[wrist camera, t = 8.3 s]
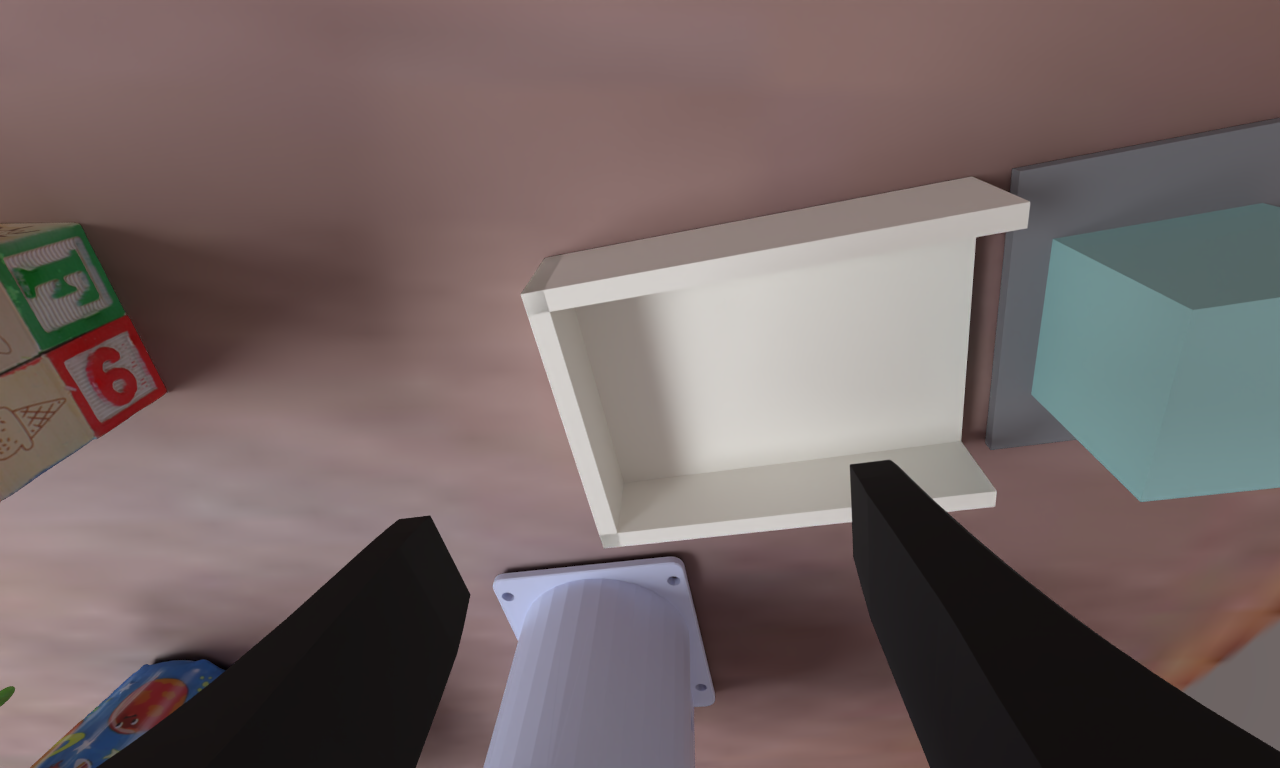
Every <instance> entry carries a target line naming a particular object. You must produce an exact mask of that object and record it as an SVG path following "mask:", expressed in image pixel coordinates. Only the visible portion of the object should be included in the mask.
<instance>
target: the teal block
mask: <svg viewBox="0 0 1280 768" xmlns="http://www.w3.org/2000/svg"><path fill="white" fill-rule="evenodd" d="M1031 395H1032V396H1033V397H1034V398H1035V399H1036V400H1037V401H1038V402H1039V403H1040V404H1041V405H1042V406H1043V407H1044V408H1045V409H1047V410H1048V411H1049V412H1050V413H1051V414H1052V415H1053V416H1054V417H1055V418H1056V419H1057V420H1058V421H1059V422H1060V423H1061V424H1062V425H1063V426H1064V427H1065V428H1066V429H1067V430H1068V431H1069V432H1070V433H1071V434H1072V435H1073V436H1074V437H1075V438H1076V439H1077V440H1078V441H1079V442H1080V443H1081V444H1082V445H1083V446H1084V447H1085V448H1086V449H1087V450H1088V451H1089V452H1090V453H1091V454H1092V455H1093V456H1094V457H1095V458H1096V459H1097V460H1098V461H1099V462H1100V463H1101V464H1102V465H1103V466H1104V467H1105V468H1106V469H1107V470H1109V471H1110V472H1111V473H1112V474H1113V475H1114V476H1115V477H1116V478H1117V479H1118V480H1119V481H1120V482H1121V483H1122V484H1123V485H1124V486H1125V487H1126V488H1127V489H1128V490H1129V491H1130V492H1131V493H1132V494H1133V495H1134V496H1135V497H1136V498H1137V499H1138V500H1139V501H1140V502H1145V501H1155V500H1164V499H1174V498H1183V497H1193V496H1203V495H1212V494H1222V493H1231V492H1241V491H1251V490H1260V489H1270V488H1279V487H1280V207H1276V206H1273V205H1269V204H1265V203H1260V204H1254V205H1248V206H1242V207H1237V208H1231V209H1225V210H1219V211H1213V212H1207V213H1202V214H1196V215H1190V216H1184V217H1178V218H1172V219H1166V220H1161V221H1155V222H1149V223H1143V224H1137V225H1131V226H1126V227H1120V228H1114V229H1108V230H1102V231H1096V232H1091V233H1085V234H1079V235H1073V236H1067V237H1061V238H1056V239H1053V241H1052V248H1051V255H1050V262H1049V270H1048V277H1047V284H1046V291H1045V298H1044V306H1043V313H1042V320H1041V327H1040V334H1039V342H1038V349H1037V356H1036V363H1035V370H1034V378H1033V385H1032V392H1031Z"/></svg>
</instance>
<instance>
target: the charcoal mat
mask: <svg viewBox="0 0 1280 768" xmlns="http://www.w3.org/2000/svg"><path fill="white" fill-rule="evenodd" d="M1010 193H1011V194H1014V195H1016V196H1018V197H1021V198H1023V199H1025V200H1028V201H1030V210H1029V218H1028V227H1027V228H1026V229H1020V230H1015V231H1009V232H1006V237H1005V248H1004V258H1003V268H1002V278H1001V288H1000V298H999V308H998V319H997V329H996V339H995V349H994V359H993V369H992V380H991V390H990V400H989V410H988V420H987V430H986V440H985V443H986V445H987V446H988V447H989V448H990V450H995V449H1003V448H1012V447H1020V446H1028V445H1036V444H1045V443H1053V442H1061V441H1069V440H1077V439H1076V438H1075V437H1074V436H1073V435H1072V434H1071V433H1070V432H1069V431H1068V430H1067V429H1066V428H1065V427H1064V426H1063V425H1062V424H1061V423H1060V422H1059V421H1058V420H1057V419H1056V418H1055V417H1054V416H1053V415H1052V414H1051V413H1050V412H1049V411H1048V410H1047V409H1045V408H1044V407H1043V406H1042V405H1041V404H1040V403H1039V402H1038V401H1037V400H1036V399H1035V398H1034V397H1033V396H1032V395H1031V392H1032V385H1033V378H1034V370H1035V363H1036V356H1037V349H1038V342H1039V334H1040V327H1041V320H1042V313H1043V306H1044V298H1045V291H1046V284H1047V277H1048V270H1049V262H1050V255H1051V248H1052V241H1053V239H1056V238H1061V237H1067V236H1073V235H1079V234H1085V233H1091V232H1096V231H1102V230H1108V229H1114V228H1120V227H1126V226H1131V225H1137V224H1143V223H1149V222H1155V221H1161V220H1166V219H1172V218H1178V217H1184V216H1190V215H1196V214H1202V213H1207V212H1213V211H1219V210H1225V209H1231V208H1237V207H1242V206H1248V205H1254V204H1260V203H1265V204H1269V205H1273V206H1276V207H1280V118H1276V119H1271V120H1265V121H1260V122H1255V123H1250V124H1244V125H1239V126H1234V127H1229V128H1223V129H1218V130H1213V131H1208V132H1202V133H1197V134H1192V135H1187V136H1181V137H1176V138H1171V139H1166V140H1160V141H1155V142H1150V143H1145V144H1139V145H1134V146H1129V147H1124V148H1118V149H1113V150H1108V151H1103V152H1097V153H1092V154H1087V155H1082V156H1076V157H1071V158H1066V159H1061V160H1055V161H1050V162H1045V163H1040V164H1034V165H1029V166H1024V167H1019V168H1013V169H1012V177H1011V187H1010Z"/></svg>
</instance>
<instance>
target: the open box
mask: <svg viewBox="0 0 1280 768" xmlns="http://www.w3.org/2000/svg"><path fill="white" fill-rule="evenodd" d="M1029 210H1030V201H1028V200H1025V199H1023V198H1021V197H1018V196H1016V195H1014V194H1011V193H1009V192H1007V191H1004V190H1002V189H1000V188H998V187H995V186H993V185H991V184H988V183H986V182H984V181H981V180H979V179H977V178H974V177H966V178H961V179H956V180H951V181H945V182H940V183H935V184H930V185H924V186H919V187H914V188H909V189H903V190H898V191H893V192H888V193H882V194H877V195H872V196H867V197H861V198H856V199H851V200H846V201H840V202H835V203H830V204H825V205H819V206H814V207H809V208H804V209H798V210H793V211H788V212H783V213H777V214H772V215H767V216H762V217H756V218H751V219H746V220H741V221H735V222H730V223H725V224H720V225H715V226H709V227H704V228H699V229H694V230H688V231H683V232H678V233H673V234H667V235H662V236H657V237H652V238H646V239H641V240H636V241H631V242H625V243H620V244H615V245H610V246H604V247H599V248H594V249H589V250H583V251H578V252H573V253H568V254H562V255H557V256H552V257H547V258H544V260H543V261H542V263H541V264H540V266H539V267H538V269H537V270H536V272H535V273H534V275H533V276H532V278H531V279H530V281H529V282H528V284H527V286H526V287H525V289H524V290H523V292H522V293H521V297H522V300H523V303H524V306H525V309H526V312H527V315H528V318H529V321H530V324H531V327H532V331H533V334H534V337H535V340H536V343H537V346H538V349H539V352H540V355H541V358H542V361H543V364H544V367H545V370H546V373H547V376H548V379H549V383H550V386H551V389H552V392H553V395H554V398H555V401H556V404H557V407H558V410H559V413H560V416H561V419H562V422H563V425H564V428H565V432H566V435H567V438H568V441H569V444H570V447H571V450H572V453H573V456H574V459H575V462H576V465H577V468H578V471H579V474H580V477H581V481H582V484H583V487H584V490H585V493H586V496H587V499H588V502H589V505H590V508H591V511H592V514H593V517H594V520H595V523H596V526H597V529H598V533H599V536H600V539H601V542H602V545H603V548H613V547H622V546H632V545H641V544H650V543H660V542H669V541H678V540H688V539H697V538H706V537H716V536H725V535H735V534H744V533H753V532H763V531H772V530H781V529H791V528H800V527H810V526H819V525H828V524H838V523H847V522H852V509H851V485H850V464H858V463H866V462H874V461H882V460H891V461H893V462H894V463H895V464H897V465H898V466H899V467H900V468H901V469H902V470H903V471H904V472H905V473H906V474H907V475H908V476H909V477H910V478H911V479H912V480H913V481H914V482H915V483H916V484H917V485H918V486H919V487H920V488H922V489H923V490H924V491H925V492H926V493H927V494H928V495H929V496H930V497H931V498H932V499H933V500H934V501H935V502H936V503H937V504H939V505H940V506H941V507H942V508H943V509H944V510H945V511H946V512H950V511H959V510H969V509H978V508H988V507H995V503H996V494H997V491H996V489H995V488H994V487H993V485H992V484H991V482H990V481H989V480H988V478H987V477H986V475H985V474H984V473H983V471H982V470H981V468H980V467H979V466H978V464H977V463H976V461H975V460H974V459H973V457H972V456H971V454H970V453H969V452H968V450H967V449H966V447H965V446H964V445H963V443H962V442H961V435H962V422H963V408H964V395H965V381H966V367H967V354H968V340H969V327H970V313H971V300H972V286H973V273H974V259H975V245H976V237H980V236H986V235H992V234H997V233H1003V232H1009V231H1015V230H1020V229H1026V228H1027V227H1028V218H1029Z"/></svg>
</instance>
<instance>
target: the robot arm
mask: <svg viewBox="0 0 1280 768" xmlns="http://www.w3.org/2000/svg"><path fill="white" fill-rule="evenodd" d="M850 485H851V509H852V533H853V557H854V561H855V565H856V568H857V572H858V576H859V579H860V583H861V587H862V590H863V594H864V597H865V601H866V604H867V608H868V611H869V615H870V618H871V621H872V623H873V626H874V628H875V631H876V634H877V636H878V639H879V641H880V644H881V646H882V649H883V651H884V654H885V656H886V659H887V661H888V664H889V666H890V669H891V671H892V674H893V676H894V679H895V681H896V684H897V686H898V689H899V691H900V694H901V696H902V699H903V701H904V704H905V706H906V709H907V711H908V713H909V716H910V718H911V721H912V723H913V726H914V728H915V731H916V733H917V736H918V738H919V741H920V743H921V746H922V748H923V751H924V753H925V756H926V758H927V761H928V763H929V766H930V768H1280V751H1278V750H1276V749H1274V748H1273V747H1271V746H1270V745H1268V744H1266V743H1264V742H1263V741H1261V740H1260V739H1258V738H1256V737H1255V736H1253V735H1251V734H1250V733H1248V732H1246V731H1245V730H1243V729H1241V728H1240V727H1238V726H1236V725H1235V724H1233V723H1231V722H1230V721H1228V720H1226V719H1225V718H1223V717H1221V716H1220V715H1218V714H1216V713H1215V712H1213V711H1211V710H1210V709H1208V708H1206V707H1205V706H1203V705H1202V704H1200V703H1199V702H1197V701H1196V700H1194V699H1193V698H1191V697H1190V696H1188V695H1186V694H1185V693H1183V692H1182V691H1180V690H1179V689H1177V688H1176V687H1174V686H1173V685H1171V684H1170V683H1168V682H1167V681H1165V680H1163V679H1162V678H1160V677H1159V676H1157V675H1156V674H1154V673H1153V672H1151V671H1150V670H1148V669H1147V668H1146V667H1144V666H1143V665H1141V664H1140V663H1138V662H1137V661H1135V660H1134V659H1132V658H1131V657H1130V656H1128V655H1127V654H1125V653H1124V652H1122V651H1121V650H1119V649H1118V648H1116V647H1115V646H1114V645H1112V644H1111V643H1109V642H1108V641H1106V640H1105V639H1104V638H1102V637H1101V636H1099V635H1098V634H1097V633H1095V632H1094V631H1093V630H1091V629H1090V628H1088V627H1087V626H1086V625H1084V624H1083V623H1082V622H1080V621H1079V620H1078V619H1076V618H1075V617H1073V616H1072V615H1071V614H1069V613H1068V612H1067V611H1065V610H1064V609H1063V608H1061V607H1060V606H1059V605H1058V604H1056V603H1055V602H1054V601H1052V600H1051V599H1050V598H1049V597H1047V596H1046V595H1045V594H1043V593H1042V592H1041V591H1040V590H1038V589H1037V588H1036V587H1034V586H1033V585H1032V584H1031V583H1029V582H1028V581H1027V580H1026V579H1024V578H1023V577H1022V576H1021V575H1019V574H1018V573H1017V572H1016V571H1014V570H1013V569H1012V568H1011V567H1010V566H1008V565H1007V564H1006V563H1005V562H1003V561H1002V560H1001V559H1000V558H999V557H998V556H996V555H995V554H994V553H993V552H992V551H991V550H989V549H988V548H987V547H986V546H985V545H984V544H982V543H981V542H980V541H979V540H978V539H976V538H975V537H974V536H973V535H972V534H971V533H969V532H968V531H967V530H966V529H965V528H964V527H963V526H962V525H960V524H959V523H958V522H957V521H956V520H955V519H954V518H953V517H952V516H950V515H949V514H948V513H947V512H946V511H945V510H944V509H943V508H942V507H941V506H940V505H939V504H937V503H936V502H935V501H934V500H933V499H932V498H931V497H930V496H929V495H928V494H927V493H926V492H925V491H924V490H923V489H922V488H920V487H919V486H918V485H917V484H916V483H915V482H914V481H913V480H912V479H911V478H910V477H909V476H908V475H907V474H906V473H905V472H904V471H903V470H902V469H901V468H900V467H899V466H898V465H897V464H895V463H894V462H893V461H891V460H882V461H874V462H866V463H858V464H850ZM672 576H674V577H676V578H672ZM493 589H494V591H495V593H496V596H497V598H498V600H499V602H500V604H501V606H502V608H503V610H504V612H505V615H506V617H507V619H508V621H509V623H510V625H511V627H512V629H513V631H514V633H515V636H516V638H517V640H518V645H517V648H516V652H515V655H514V659H513V663H512V666H511V670H510V673H509V677H508V681H507V684H506V688H505V691H504V695H503V699H502V702H501V706H500V709H499V713H498V717H497V720H496V724H495V728H494V731H493V735H492V738H491V742H490V746H489V749H488V753H487V756H486V760H485V764H484V767H483V768H695V738H694V707H702V706H710V705H712V704H713V703H714V702H715V692H714V687H713V683H712V679H711V675H710V671H709V666H708V662H707V658H706V654H705V650H704V645H703V641H702V637H701V633H700V629H699V625H698V620H697V616H696V612H695V608H694V604H693V599H692V595H691V591H690V587H689V583H688V578H687V574H686V570H685V566H684V563H683V561H682V560H681V559H679V558H677V557H671V556H669V557H660V558H650V559H640V560H630V561H621V562H611V563H601V564H591V565H582V566H572V567H562V568H552V569H543V570H533V571H523V572H513V573H504V574H499V575H498V576H496V578H495V580H494V583H493ZM469 598H470V593H469V591H468V589H467V587H466V585H465V583H464V581H463V579H462V577H461V575H460V573H459V571H458V569H457V567H456V565H455V563H454V561H453V559H452V557H451V555H450V554H449V552H448V550H447V548H446V546H445V544H444V542H443V540H442V538H441V536H440V534H439V532H438V530H437V528H436V526H435V524H434V522H433V520H432V518H431V516H423V517H414V518H406V519H399V520H398V521H396V522H395V523H394V524H393V525H391V526H390V527H389V528H388V529H386V530H385V531H384V532H383V533H382V534H380V535H379V536H378V537H377V538H376V539H375V540H374V541H372V542H371V543H370V544H369V545H368V546H367V547H366V548H364V549H363V550H362V551H361V552H360V553H359V554H358V555H357V556H356V557H354V558H353V559H352V560H351V561H350V562H349V563H348V564H347V565H346V566H345V567H343V568H342V569H341V570H340V571H339V572H338V573H337V574H336V575H335V576H334V577H332V578H331V579H330V580H329V581H328V582H327V583H326V584H325V585H324V586H322V587H321V588H320V589H319V590H318V591H317V592H316V593H315V594H314V595H312V596H311V597H310V598H309V599H308V600H307V601H306V602H305V603H304V604H302V605H301V606H300V607H299V608H298V609H297V610H296V611H295V612H294V613H293V614H291V615H290V616H289V617H288V618H287V619H286V620H285V621H283V622H282V623H281V624H280V625H279V626H277V627H276V628H275V629H274V630H273V631H272V632H270V633H269V634H268V635H267V636H266V637H265V638H263V639H262V640H261V641H260V642H259V643H258V644H256V645H255V646H254V647H253V648H252V649H251V650H249V651H248V652H247V653H246V654H245V655H243V656H242V657H241V658H240V659H239V660H238V661H236V662H235V663H234V664H233V665H232V666H231V667H229V668H228V669H227V670H226V671H225V672H223V673H222V674H221V675H220V676H218V677H217V678H216V679H215V680H214V681H212V682H211V683H210V684H209V685H207V686H206V687H205V688H204V689H202V690H201V691H200V692H198V693H197V694H196V695H195V696H193V697H192V698H191V699H190V700H188V701H187V702H186V703H184V704H183V705H182V706H180V707H179V708H178V709H176V710H175V711H174V712H172V713H171V714H170V715H168V716H167V717H166V718H164V719H163V720H162V721H160V722H159V723H158V724H157V725H155V726H154V727H153V728H151V729H150V730H149V731H147V732H146V733H144V734H143V735H142V736H140V737H139V738H138V739H136V740H135V741H133V742H132V743H131V744H129V745H128V746H126V747H125V748H124V749H122V750H121V751H119V752H118V753H116V754H115V755H113V756H112V757H111V758H109V759H108V760H106V761H105V762H103V763H102V764H100V765H99V766H97V767H96V768H416V765H417V762H418V760H419V757H420V754H421V751H422V749H423V746H424V743H425V740H426V738H427V735H428V732H429V730H430V727H431V724H432V721H433V719H434V716H435V713H436V711H437V708H438V705H439V702H440V700H441V697H442V694H443V691H444V689H445V686H446V683H447V680H448V677H449V675H450V672H451V669H452V666H453V663H454V660H455V657H456V655H457V652H458V648H459V644H460V639H461V635H462V631H463V627H464V623H465V618H466V613H467V608H468V603H469Z"/></svg>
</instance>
